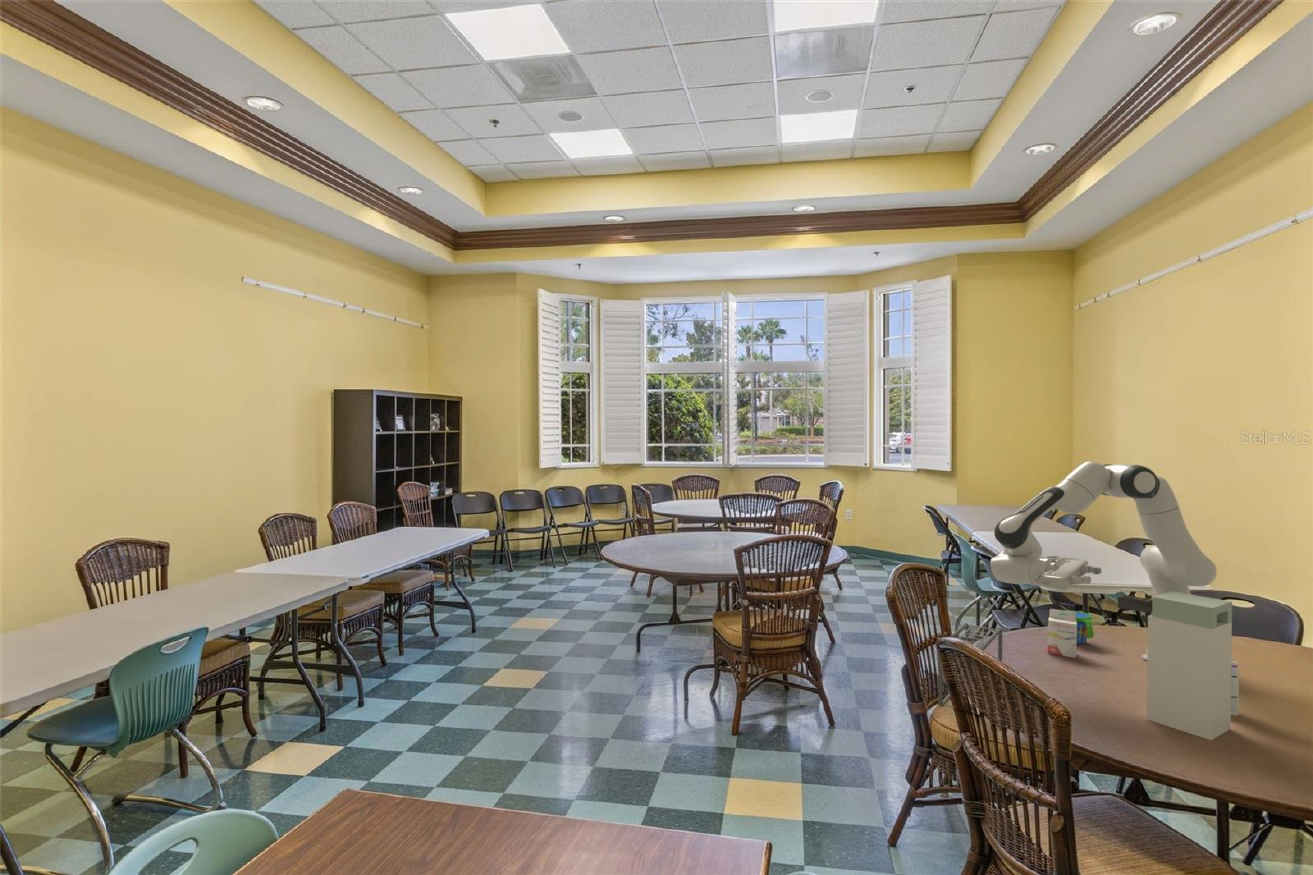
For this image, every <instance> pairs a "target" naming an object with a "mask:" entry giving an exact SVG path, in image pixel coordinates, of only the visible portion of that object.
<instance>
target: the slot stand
mask: <svg viewBox="0 0 1313 875" xmlns="http://www.w3.org/2000/svg"><path fill="white" fill-rule="evenodd" d="M1191 594H1192V593H1191ZM1191 594H1186V593H1180V592H1174V591H1172V592H1168V593H1165V594H1161V595H1157V596H1154V595H1153V596H1152V598H1151V599H1152V613H1151V614H1150V615H1147V645H1148V659H1147V660H1146V661H1147V666H1146V667H1147V668H1146V670H1147V675H1146V676H1147V677H1146V680H1147V681H1146V682H1147V683H1146V684H1147V686H1146V688H1147V689H1146V720H1148V721H1151V722H1153V723H1156V724H1160V725H1163V726H1165V727H1168V728H1172V729H1174V728H1175V730H1179V731H1180V732H1184V733H1187V734H1191V735H1193V736H1196V737H1199V738H1203V739H1206V740H1209V741H1213V740H1214V739H1216V738H1218V737H1220V736H1221V735H1223V734H1225V733H1226V732H1228V731H1230V730H1231V723H1232V722H1231V721H1232V720H1231V717H1232V715H1231V660H1232V641H1233V640H1232V639H1233V638H1232V636H1233V635H1232V632H1233V630H1232V629H1233V628H1232V627H1233V622H1232V621H1233V601H1229V600H1224V599H1218V598H1213V597H1208V596H1202V595H1196V594H1192V595H1191Z"/></svg>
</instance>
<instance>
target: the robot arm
mask: <svg viewBox="0 0 1313 875" xmlns="http://www.w3.org/2000/svg"><path fill="white" fill-rule="evenodd" d="M1100 495H1102V496H1106V497H1107V496H1111V497H1114V498H1119V499H1125V498H1128V499H1129V498H1132V499H1133V501H1134V502H1135V506H1136V509H1137V513H1138V515H1139V519H1140V522H1141V525H1142V529H1143V531H1144V534H1145V536H1146V537H1147V538H1148V539H1149V540H1150V541H1151V542H1152V543H1153V544H1152V545H1148V546H1147V547H1144V549H1142V551H1141V552H1140V556H1139V561H1140V564H1141V567H1142V568H1144V570H1145V571H1146V574H1147V576H1148V578H1149V581H1150V584H1151V589H1152V592H1153V597H1154V596H1157V595H1161V594H1165V593H1168V592H1172V591H1174V592H1180V593H1186V594H1191V595H1193V594H1192V593H1191V590H1190V588H1189V587H1197V588H1200V587H1207V586H1209V585H1210V584H1212V583H1213V582H1214V580H1215V579H1216V577H1217V567H1216V565H1215V563H1214V562H1213V561H1212V560H1211V559H1210V558H1209V557H1207V556H1206V555H1205V553H1204V552H1203V551H1202V550H1201V549H1200V547H1199V546H1198V544H1197V543H1196V541H1195V539H1194V538H1193V537H1192V535H1191V533H1190V532H1189V530H1188V528H1187V526H1186V524H1185V520H1184V518H1183V515H1182V511H1181V509H1180V505H1179V503H1178V500H1177V498H1176V495H1175V494H1174V491H1173V489H1172V488H1171V486H1170V484H1169V482H1168V481H1167V480H1166V479H1165V478H1164V477H1163V476H1159V475H1156V473H1155V472H1154V471H1153V469H1152V470H1151V468H1148V467H1146V466H1144V465H1139V464H1129V463H1117V464H1110V463H1107V464H1101V463H1100V462H1096V461H1093V460H1089V461H1085V462H1083V463H1081V464H1080V465H1078V466H1076V467H1075V468H1074V469H1073V470H1071V471H1070V473H1068V474H1067V475H1066V476H1065V477H1064V478H1063V479H1062V480H1060V482H1059V483H1057V484H1056V485H1054V486H1049V487H1047V488H1044V490H1042V491H1040V492H1039V493H1037V494H1036V495H1035V496H1034V497H1033V498H1030V500H1029V501H1027V502H1026V503H1025V504H1024V505H1023V506H1021V507H1020V508H1018V510H1016V511H1014V512H1013V513H1012V514H1010V515H1008V516H1006V517H1004V518H1002V519H1001V520H1000V521H998V523H997V524H996V525H995V527H994V532H993V533H994V538H995V539H996V541H997V542H998V543H999V544H1000V545H1001V546H1002V547H1003V550H1002V551H1001V552H1000V553H999V554H997V555H996V556H993V557H992V558H990V562H989V567H990V571H991V574H992V576H993V578H995V580H997V581H998V582H1000V583H1001V582H1002V583H1005V584H1011V585H1012V584H1013V585H1027V584H1028V585H1031V586H1034V587H1035V586H1036V587H1044V588H1047V589H1048V588H1049V589H1053V590H1054V589H1055V590H1069V588H1071V587H1072V586H1073V585H1074V586H1075V585H1084V584H1086V585H1089V584H1090V583H1091V582H1092V578H1091V576H1085V575H1086V574H1089V573H1090V574H1093V575H1100V574H1102V572H1103V571H1102V568H1101V567H1097V566H1094V565H1093V566H1092V565H1089V563H1088V560H1086V559H1083V558H1076V557H1074V558H1073V557H1060V555H1054V554H1052V555H1049V556H1046V557H1044V556H1043V557H1041V556H1042V552H1043V548H1042V546H1041V543H1040V542H1039V541H1038V539H1037V537H1036V536H1035V535H1034V534H1033V532H1032V527H1033V525H1034V524H1035V523H1037V521H1039V520H1041V518H1043V517H1044V516H1045V515H1046V514H1047V513H1049V512H1050V511H1052V510H1056V511H1059V512H1062V513H1064V514H1068V515H1077V514H1081V513H1082V512H1084V511H1085V510H1087V509H1088V508H1089V507H1090V506H1091V505H1092V504H1094V502H1096V500H1097V499H1098V498H1099V496H1100ZM1146 645H1147V646H1146V654H1142V656H1141V659H1143V660H1145V661H1147V659H1148V644H1146Z"/></svg>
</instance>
